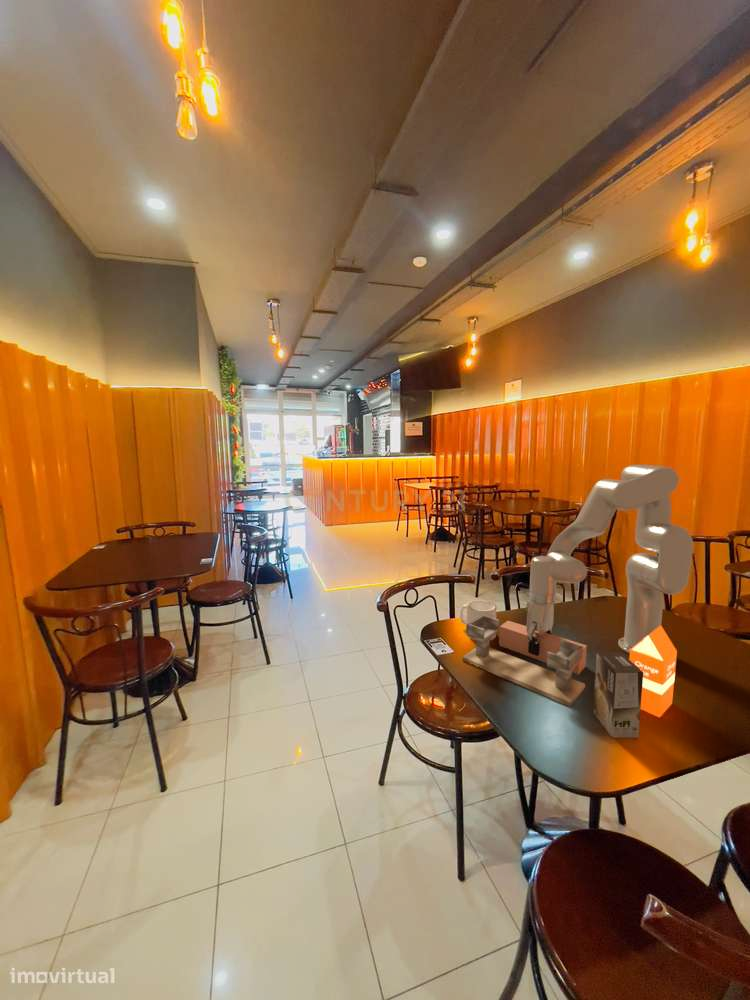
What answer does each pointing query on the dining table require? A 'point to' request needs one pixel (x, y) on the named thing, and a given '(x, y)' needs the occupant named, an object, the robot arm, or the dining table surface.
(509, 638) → the rail
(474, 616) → the mug
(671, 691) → the orange juice
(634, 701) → the coffee box
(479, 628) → the cradle stand
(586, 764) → the dining table surface
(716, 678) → the dining table surface
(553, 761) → the dining table surface
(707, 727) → the dining table surface
